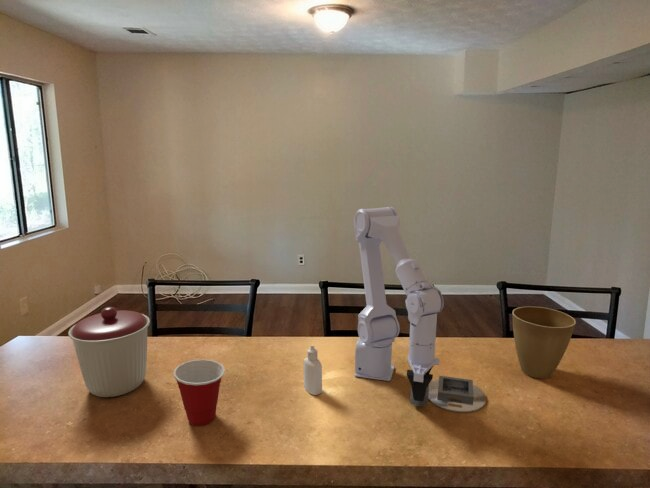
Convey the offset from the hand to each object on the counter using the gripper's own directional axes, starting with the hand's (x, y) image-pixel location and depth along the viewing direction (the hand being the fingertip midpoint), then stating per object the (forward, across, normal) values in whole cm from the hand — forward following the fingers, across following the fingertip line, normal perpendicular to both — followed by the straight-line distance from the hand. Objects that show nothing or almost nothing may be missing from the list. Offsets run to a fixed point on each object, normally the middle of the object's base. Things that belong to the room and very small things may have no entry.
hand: (419, 394), depth 104 cm
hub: (+3, +7, -8) cm, 11 cm away
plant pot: (+3, +25, -29) cm, 38 cm away
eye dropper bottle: (+3, 0, +26) cm, 26 cm away
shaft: (+2, 0, 0) cm, 2 cm away
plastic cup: (+3, -18, +46) cm, 49 cm away
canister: (+3, -12, +74) cm, 75 cm away
